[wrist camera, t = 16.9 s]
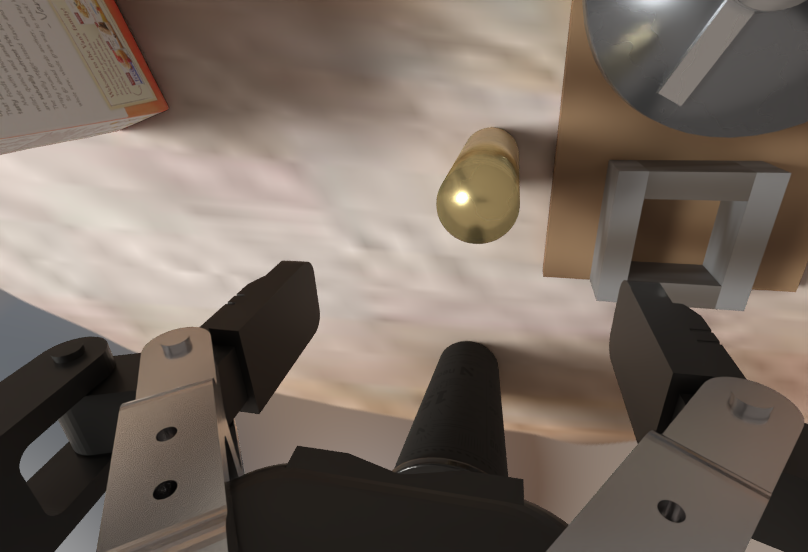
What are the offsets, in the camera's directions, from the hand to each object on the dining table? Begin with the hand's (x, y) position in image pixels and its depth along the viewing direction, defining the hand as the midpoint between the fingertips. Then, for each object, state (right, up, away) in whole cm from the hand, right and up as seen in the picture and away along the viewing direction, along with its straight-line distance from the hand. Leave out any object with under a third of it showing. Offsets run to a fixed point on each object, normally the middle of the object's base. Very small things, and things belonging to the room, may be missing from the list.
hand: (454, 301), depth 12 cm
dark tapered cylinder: (+4, -7, +25) cm, 26 cm away
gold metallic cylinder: (+4, +9, +17) cm, 20 cm away
